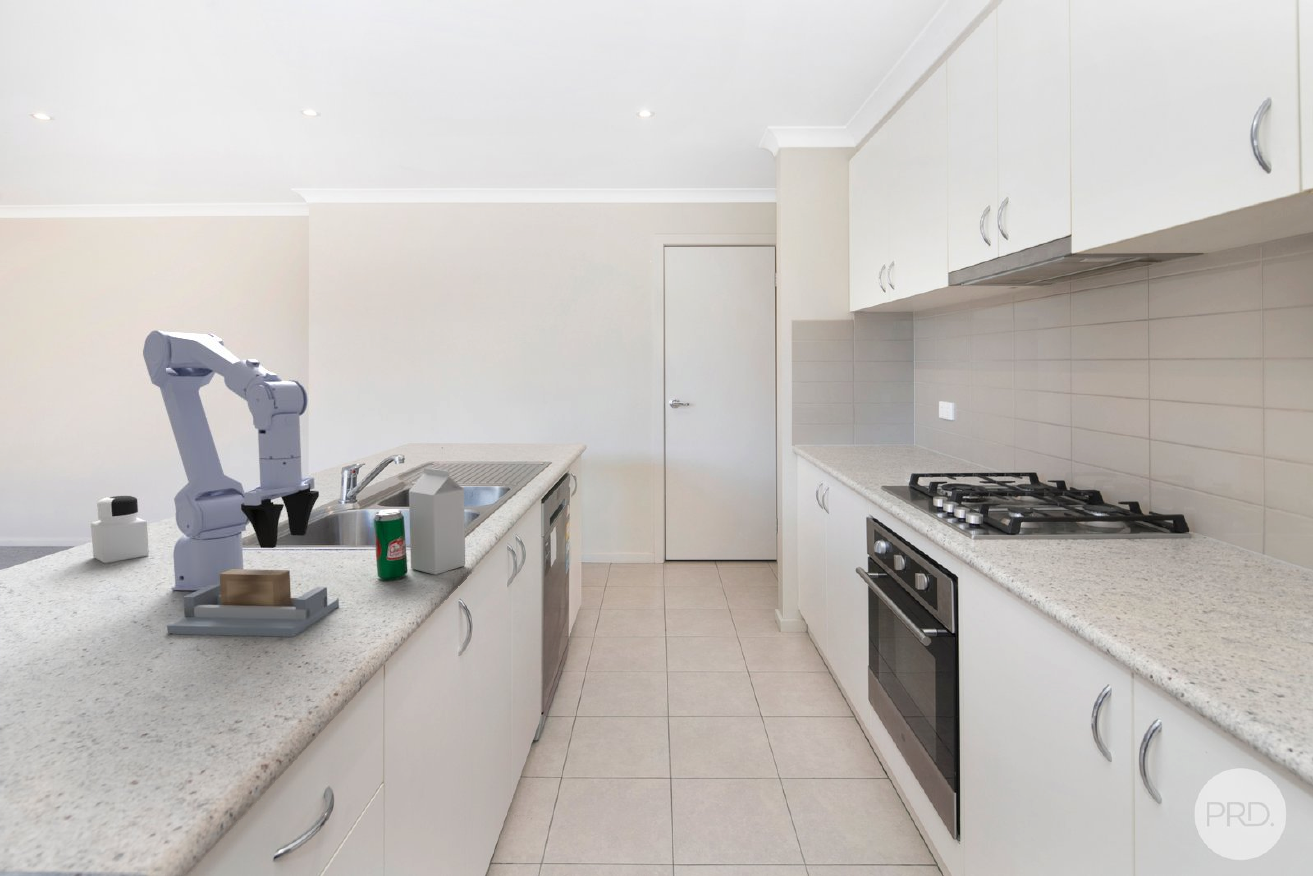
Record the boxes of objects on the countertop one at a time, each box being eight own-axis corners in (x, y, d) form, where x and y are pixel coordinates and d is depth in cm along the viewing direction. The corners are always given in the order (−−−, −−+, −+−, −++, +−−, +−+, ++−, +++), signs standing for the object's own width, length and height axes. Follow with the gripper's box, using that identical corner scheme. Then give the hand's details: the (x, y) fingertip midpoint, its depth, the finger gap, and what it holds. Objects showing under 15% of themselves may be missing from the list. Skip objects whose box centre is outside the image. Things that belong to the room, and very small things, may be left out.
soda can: (392, 582, 112) (387, 516, 110) (371, 579, 114) (366, 514, 112) (413, 573, 116) (409, 510, 115) (393, 570, 118) (389, 507, 117)
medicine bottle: (137, 549, 131) (134, 492, 130) (149, 555, 127) (145, 496, 125) (92, 557, 125) (88, 497, 124) (103, 564, 121) (99, 502, 120)
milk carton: (435, 575, 116) (433, 473, 114) (410, 569, 120) (407, 469, 118) (465, 566, 122) (464, 468, 120) (441, 560, 126) (439, 465, 124)
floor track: (167, 633, 89) (165, 604, 88) (227, 603, 101) (226, 577, 100) (293, 636, 88) (291, 607, 88) (338, 606, 100) (337, 580, 100)
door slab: (221, 613, 93) (219, 574, 93) (233, 607, 96) (231, 569, 95) (281, 615, 93) (279, 575, 92) (291, 608, 95) (289, 570, 95)
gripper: (275, 463, 93) (278, 554, 94) (330, 452, 107) (333, 530, 109) (228, 462, 93) (233, 552, 94) (290, 451, 108) (293, 529, 109)
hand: (283, 541), depth 102 cm, fingers open, 7 cm apart
